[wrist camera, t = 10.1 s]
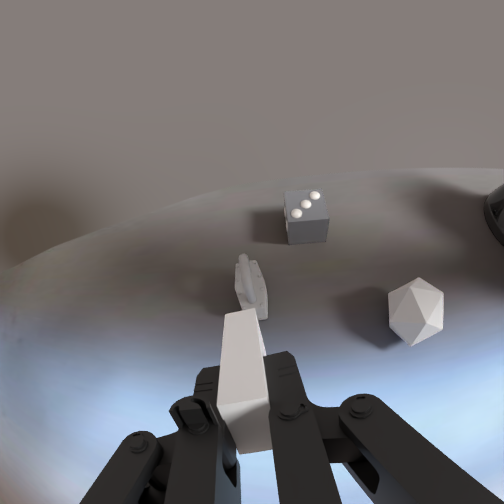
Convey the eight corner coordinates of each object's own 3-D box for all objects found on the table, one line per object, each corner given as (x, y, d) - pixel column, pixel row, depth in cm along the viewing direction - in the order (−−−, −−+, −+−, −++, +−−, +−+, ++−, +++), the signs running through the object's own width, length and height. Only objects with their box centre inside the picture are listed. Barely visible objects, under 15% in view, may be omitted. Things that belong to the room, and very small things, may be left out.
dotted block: (319, 212, 47) (321, 187, 42) (325, 241, 44) (329, 218, 39) (284, 215, 48) (282, 191, 43) (287, 245, 45) (287, 221, 39)
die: (406, 362, 33) (462, 331, 27) (369, 337, 32) (431, 300, 26) (404, 318, 39) (452, 287, 33) (370, 292, 38) (421, 254, 32)
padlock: (272, 318, 39) (266, 290, 30) (243, 323, 39) (230, 297, 30) (263, 274, 43) (256, 237, 34) (237, 279, 43) (223, 243, 34)
